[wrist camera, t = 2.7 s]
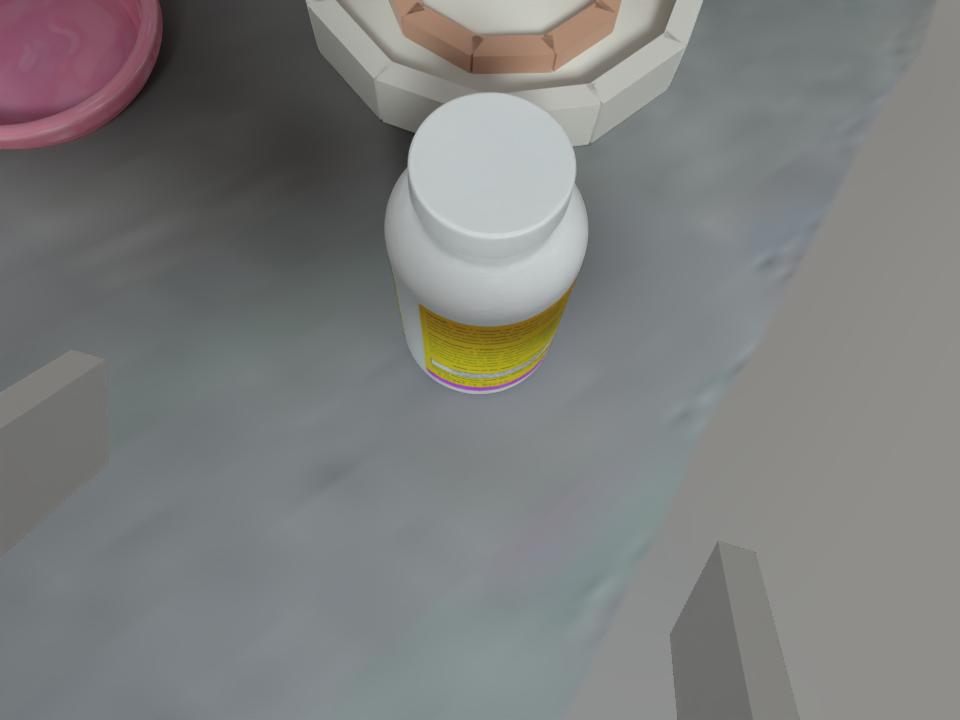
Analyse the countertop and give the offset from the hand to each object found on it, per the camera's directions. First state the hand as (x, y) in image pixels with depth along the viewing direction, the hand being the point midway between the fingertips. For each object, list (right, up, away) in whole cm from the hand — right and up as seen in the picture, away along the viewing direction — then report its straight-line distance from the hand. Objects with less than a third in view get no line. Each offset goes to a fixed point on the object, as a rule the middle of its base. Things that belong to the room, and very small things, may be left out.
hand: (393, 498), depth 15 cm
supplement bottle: (+2, +4, +17) cm, 17 cm away
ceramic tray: (+3, +23, +22) cm, 32 cm away
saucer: (-20, +17, +20) cm, 33 cm away
